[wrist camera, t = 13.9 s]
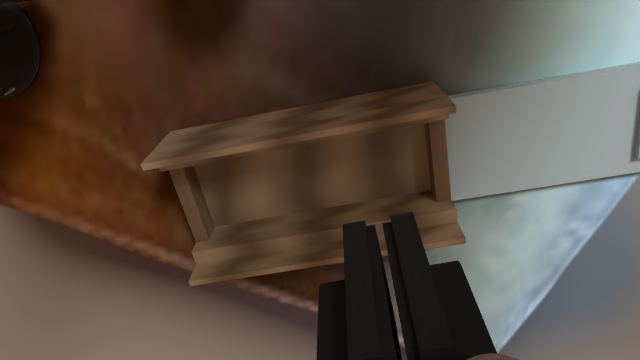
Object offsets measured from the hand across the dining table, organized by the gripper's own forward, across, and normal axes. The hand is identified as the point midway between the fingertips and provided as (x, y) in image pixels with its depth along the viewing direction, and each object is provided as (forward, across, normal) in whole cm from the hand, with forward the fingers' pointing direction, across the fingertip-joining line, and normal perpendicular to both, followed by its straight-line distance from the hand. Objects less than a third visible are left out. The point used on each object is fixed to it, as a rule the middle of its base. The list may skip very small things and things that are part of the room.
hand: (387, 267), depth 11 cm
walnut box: (+26, +5, +9) cm, 29 cm away
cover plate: (+27, -15, +10) cm, 33 cm away
